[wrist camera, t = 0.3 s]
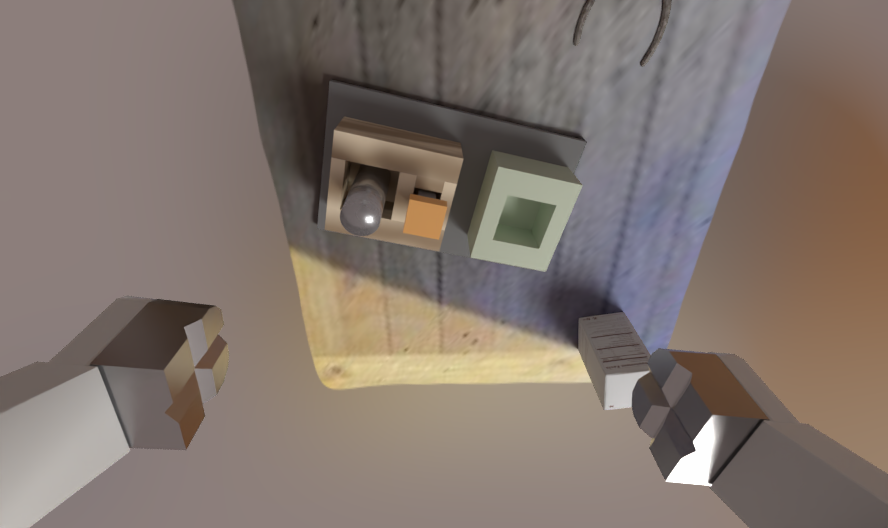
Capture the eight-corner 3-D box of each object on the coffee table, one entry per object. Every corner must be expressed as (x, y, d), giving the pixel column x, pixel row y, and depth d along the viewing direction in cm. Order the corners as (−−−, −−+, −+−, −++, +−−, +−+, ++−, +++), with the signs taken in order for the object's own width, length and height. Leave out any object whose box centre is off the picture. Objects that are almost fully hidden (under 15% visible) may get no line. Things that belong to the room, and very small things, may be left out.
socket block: (344, 116, 49) (334, 129, 44) (460, 142, 51) (463, 158, 46) (334, 208, 56) (324, 229, 50) (438, 229, 57) (439, 251, 52)
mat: (331, 79, 48) (329, 80, 47) (584, 139, 52) (586, 142, 52) (318, 225, 58) (317, 228, 57) (533, 266, 62) (534, 270, 61)
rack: (492, 150, 52) (498, 166, 47) (568, 167, 53) (582, 185, 48) (467, 234, 58) (470, 257, 53) (536, 248, 59) (545, 271, 54)
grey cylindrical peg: (360, 156, 51) (341, 196, 41) (393, 163, 52) (383, 204, 41) (356, 187, 53) (337, 232, 43) (387, 193, 54) (377, 239, 43)
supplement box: (621, 344, 71) (655, 406, 60) (577, 350, 71) (602, 412, 61) (625, 310, 67) (661, 369, 56) (577, 316, 67) (605, 376, 57)
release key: (411, 179, 48) (409, 199, 44) (445, 187, 49) (447, 206, 44) (405, 211, 50) (402, 232, 46) (438, 217, 51) (438, 239, 46)
